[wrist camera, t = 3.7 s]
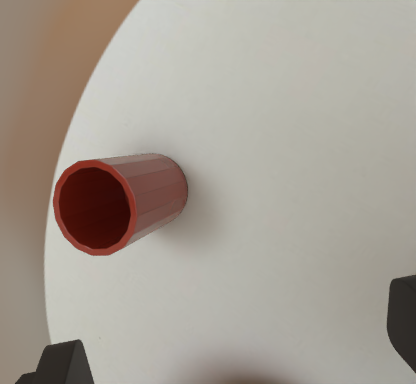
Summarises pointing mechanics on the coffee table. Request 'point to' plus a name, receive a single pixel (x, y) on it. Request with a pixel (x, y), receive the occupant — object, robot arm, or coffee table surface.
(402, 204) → the coffee table surface
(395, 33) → the coffee table surface
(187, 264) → the coffee table surface
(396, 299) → the robot arm
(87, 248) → the red cup
